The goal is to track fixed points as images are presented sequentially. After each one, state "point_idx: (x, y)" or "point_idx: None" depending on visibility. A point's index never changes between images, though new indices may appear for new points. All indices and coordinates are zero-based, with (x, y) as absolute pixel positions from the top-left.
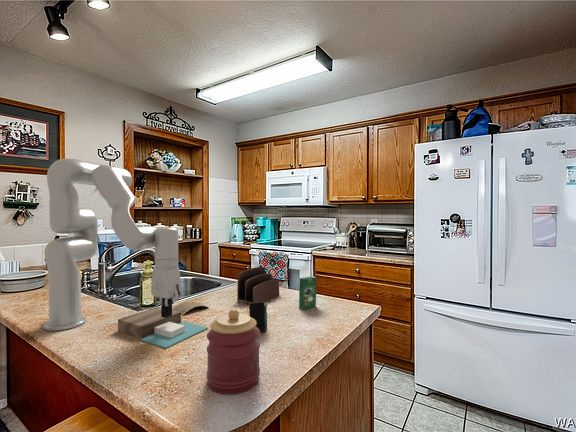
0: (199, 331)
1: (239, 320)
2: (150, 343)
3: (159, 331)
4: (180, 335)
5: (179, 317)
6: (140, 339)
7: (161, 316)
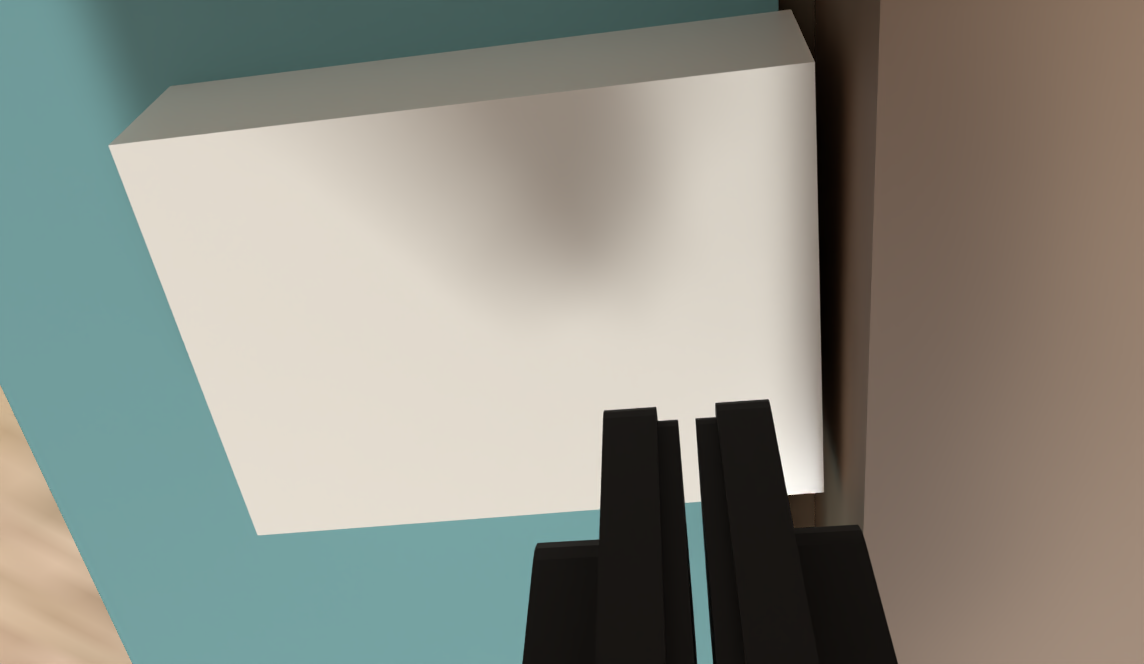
0: (93, 575)
1: None
2: None
3: (579, 61)
4: (158, 285)
5: None
6: None
7: (759, 402)
